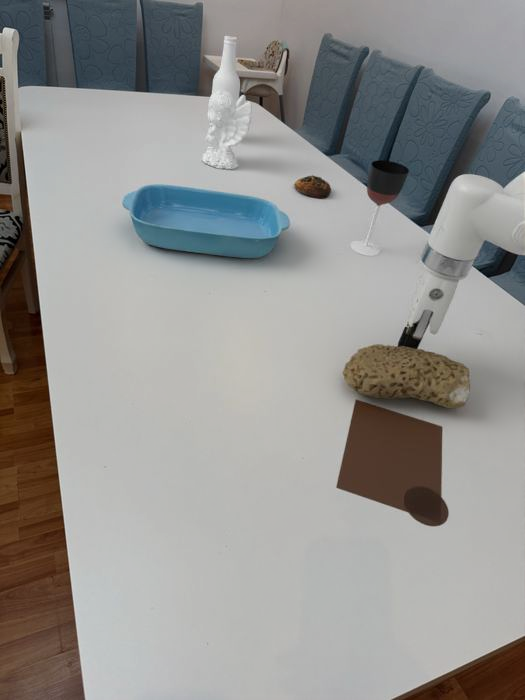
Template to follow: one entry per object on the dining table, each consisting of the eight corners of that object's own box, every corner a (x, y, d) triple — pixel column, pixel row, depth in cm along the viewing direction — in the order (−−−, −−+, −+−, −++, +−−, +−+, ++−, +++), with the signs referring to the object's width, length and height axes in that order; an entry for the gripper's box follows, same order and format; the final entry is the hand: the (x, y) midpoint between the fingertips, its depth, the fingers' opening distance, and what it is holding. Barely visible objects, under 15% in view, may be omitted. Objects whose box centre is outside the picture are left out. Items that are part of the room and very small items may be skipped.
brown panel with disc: (355, 399, 80) (355, 399, 80) (448, 428, 78) (448, 428, 78) (334, 493, 65) (335, 493, 65) (448, 532, 63) (448, 532, 63)
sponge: (450, 383, 88) (350, 334, 88) (478, 359, 82) (370, 307, 82) (444, 443, 80) (332, 391, 80) (473, 422, 74) (353, 364, 74)
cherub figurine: (199, 152, 156) (204, 82, 144) (238, 155, 159) (246, 87, 147) (203, 168, 147) (209, 94, 134) (245, 171, 149) (254, 99, 137)
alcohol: (204, 138, 167) (211, 35, 148) (214, 132, 174) (222, 32, 155) (228, 144, 166) (239, 41, 147) (237, 138, 173) (249, 38, 154)
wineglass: (388, 253, 121) (416, 173, 109) (361, 258, 117) (387, 175, 105) (368, 238, 126) (392, 159, 114) (341, 242, 122) (363, 161, 110)
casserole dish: (281, 224, 125) (286, 197, 121) (288, 270, 108) (295, 241, 103) (131, 207, 120) (131, 178, 116) (115, 252, 103) (113, 220, 99)
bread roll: (321, 201, 139) (323, 183, 137) (286, 193, 144) (288, 176, 141) (337, 192, 148) (339, 175, 145) (304, 185, 152) (305, 169, 149)
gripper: (472, 289, 70) (424, 382, 82) (470, 245, 81) (428, 332, 93) (420, 274, 71) (380, 368, 83) (425, 232, 82) (389, 320, 94)
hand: (405, 349), depth 88 cm, fingers closed
